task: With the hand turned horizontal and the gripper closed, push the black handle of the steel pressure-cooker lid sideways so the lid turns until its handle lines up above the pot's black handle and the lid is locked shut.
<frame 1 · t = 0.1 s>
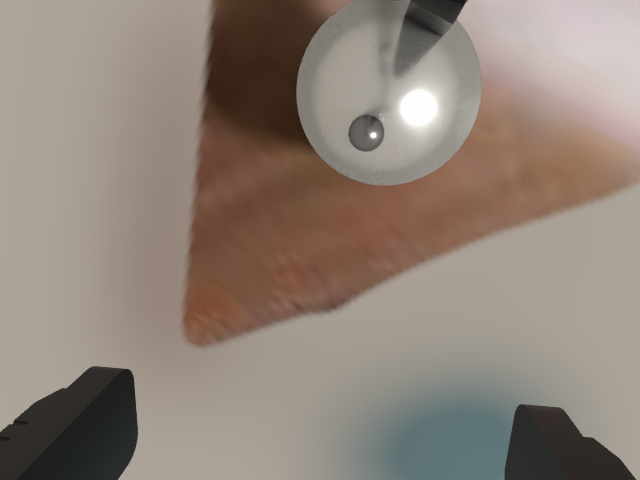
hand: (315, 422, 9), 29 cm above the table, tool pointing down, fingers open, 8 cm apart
lid: (419, 35, 22), point 13 cm above the table, hinge at -25.0°
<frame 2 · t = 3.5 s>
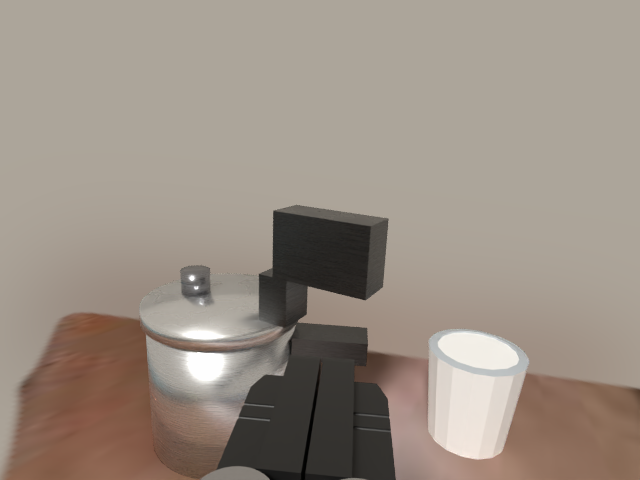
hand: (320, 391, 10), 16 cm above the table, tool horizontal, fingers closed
white cylinder: (464, 434, 33), on the table
lid: (256, 265, 28), point 13 cm above the table, hinge at -25.0°
pot: (224, 426, 33), on the table
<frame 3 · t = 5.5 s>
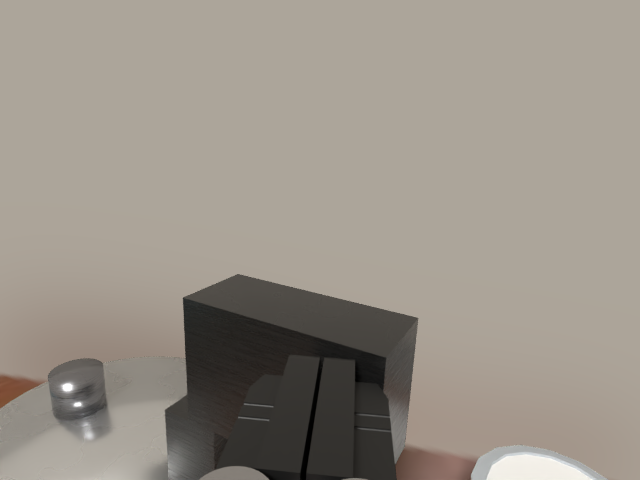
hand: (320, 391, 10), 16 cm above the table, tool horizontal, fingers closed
lid: (168, 380, 15), point 13 cm above the table, hinge at -23.5°, touching gripper
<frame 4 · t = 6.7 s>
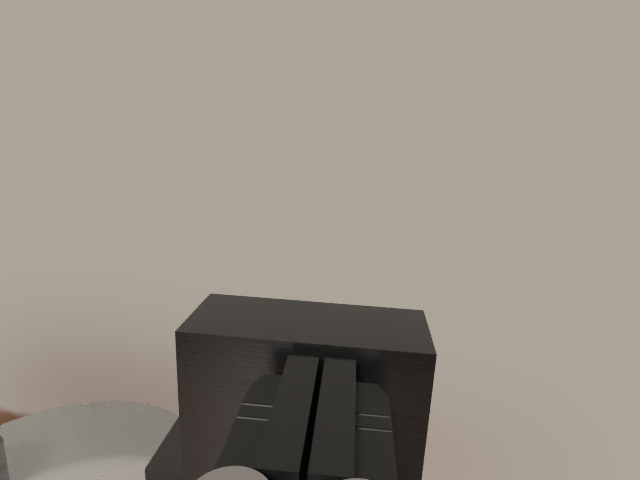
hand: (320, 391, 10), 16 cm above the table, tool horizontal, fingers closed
lid: (126, 433, 13), point 13 cm above the table, hinge at -1.4°, touching gripper
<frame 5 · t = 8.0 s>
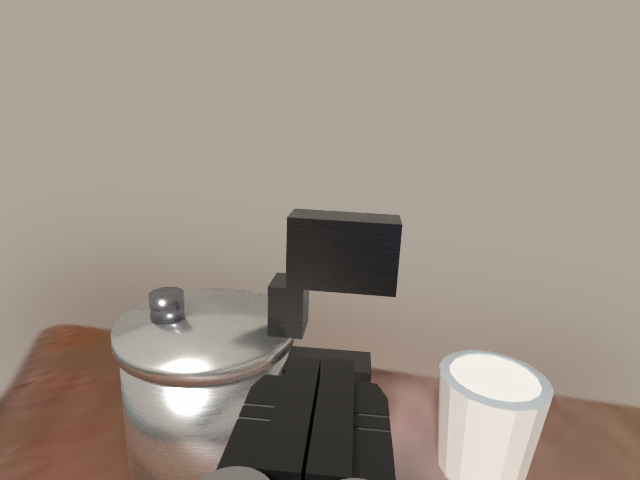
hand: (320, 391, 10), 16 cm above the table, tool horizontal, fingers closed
white cylinder: (479, 468, 30), on the table
lid: (253, 277, 26), point 13 cm above the table, hinge at -1.4°
pot: (211, 460, 29), on the table
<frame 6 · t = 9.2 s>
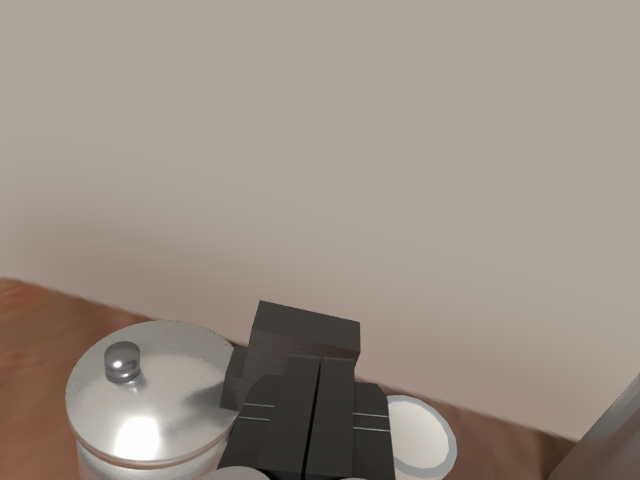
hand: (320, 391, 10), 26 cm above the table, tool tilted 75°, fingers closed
lid: (211, 355, 26), point 13 cm above the table, hinge at -1.4°
pot: (156, 469, 33), on the table
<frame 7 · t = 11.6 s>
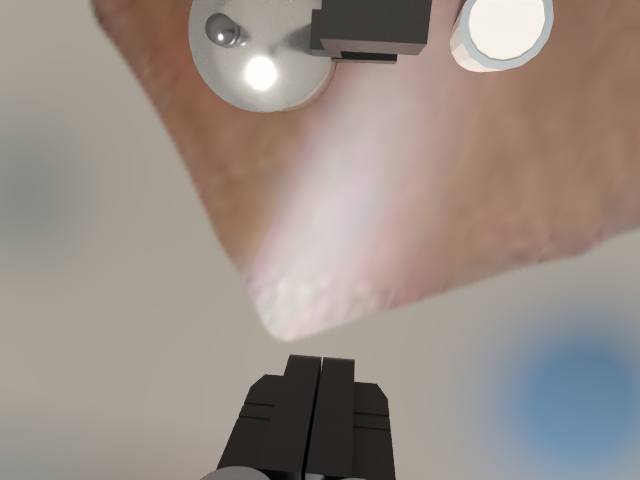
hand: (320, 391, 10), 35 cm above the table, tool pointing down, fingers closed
white cylinder: (481, 39, 40), on the table
lid: (293, 28, 28), point 13 cm above the table, hinge at -1.4°
pot: (283, 56, 41), on the table
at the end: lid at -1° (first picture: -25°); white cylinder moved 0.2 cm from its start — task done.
